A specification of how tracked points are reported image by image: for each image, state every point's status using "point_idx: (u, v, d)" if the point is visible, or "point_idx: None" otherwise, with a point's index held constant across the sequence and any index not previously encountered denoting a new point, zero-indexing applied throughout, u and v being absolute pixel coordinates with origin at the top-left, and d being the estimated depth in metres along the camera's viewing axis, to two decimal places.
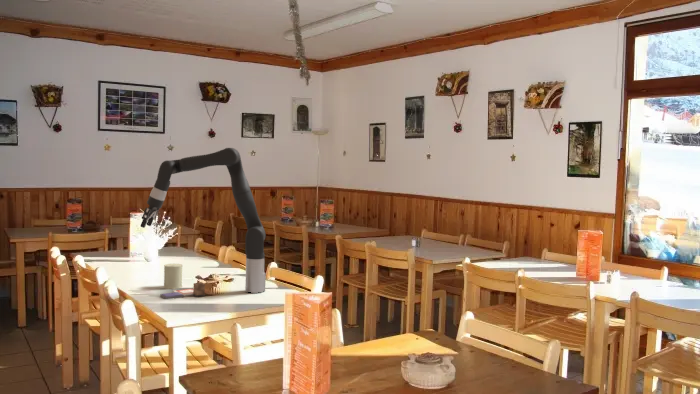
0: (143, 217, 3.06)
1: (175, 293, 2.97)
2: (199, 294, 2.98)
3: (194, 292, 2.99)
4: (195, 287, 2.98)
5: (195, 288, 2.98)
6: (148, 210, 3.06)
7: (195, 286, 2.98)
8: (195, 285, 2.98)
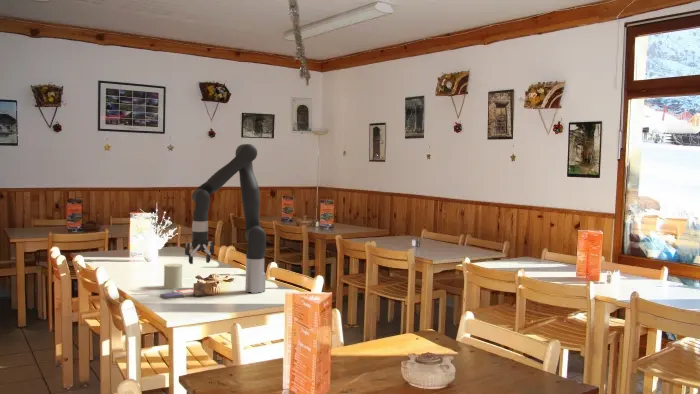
0: (185, 253, 2.95)
1: (175, 293, 2.97)
2: (199, 294, 2.98)
3: (194, 292, 2.99)
4: (195, 287, 2.98)
5: (195, 288, 2.98)
6: (187, 244, 2.94)
7: (195, 286, 2.98)
8: (195, 285, 2.98)
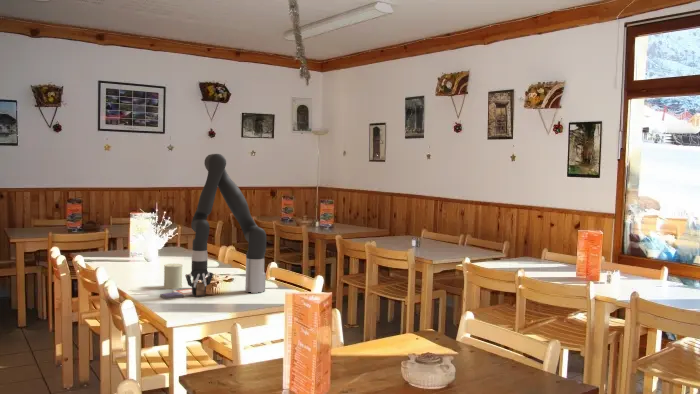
0: (189, 284, 2.97)
1: (175, 293, 2.97)
2: (199, 294, 2.98)
3: None
4: None
5: None
6: (187, 277, 2.95)
7: None
8: None
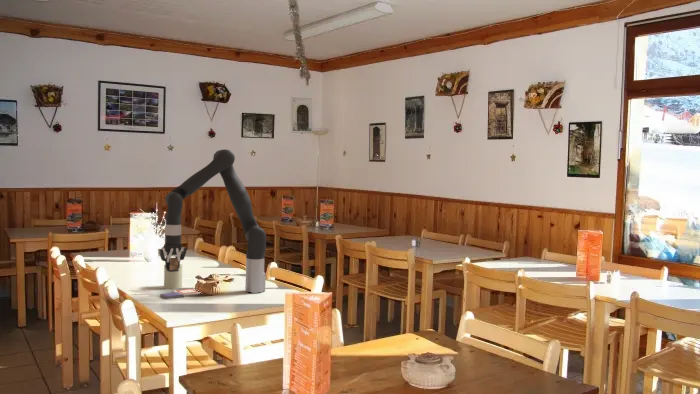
0: None
1: (175, 293, 2.97)
2: (172, 269, 2.93)
3: None
4: (169, 262, 2.93)
5: None
6: (160, 251, 2.90)
7: None
8: None
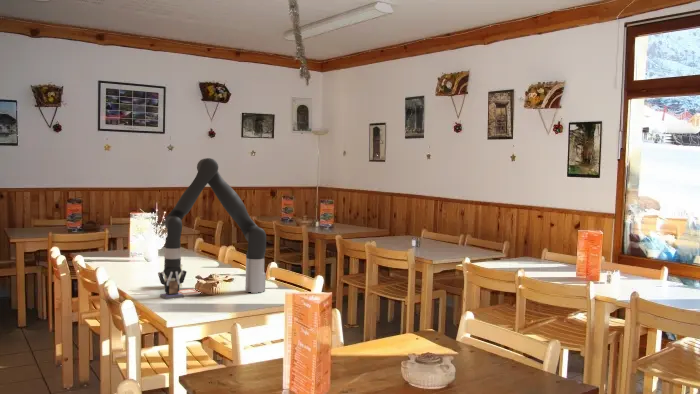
0: (161, 282, 2.92)
1: None
2: (172, 292, 2.93)
3: None
4: (168, 285, 2.93)
5: None
6: (159, 275, 2.90)
7: None
8: None
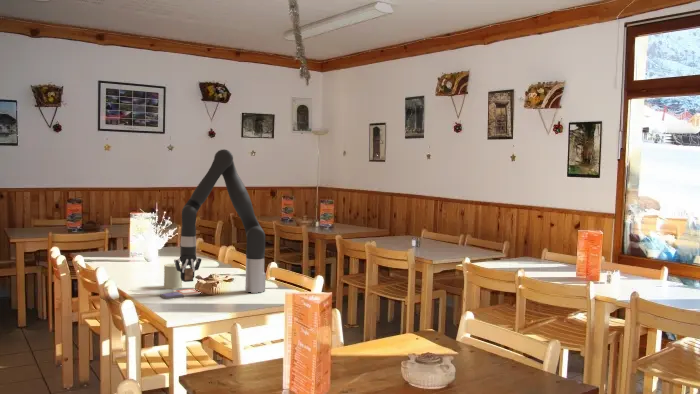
0: (177, 269, 3.02)
1: (175, 293, 2.97)
2: (187, 279, 3.03)
3: None
4: (184, 272, 3.03)
5: None
6: (175, 262, 3.00)
7: None
8: None
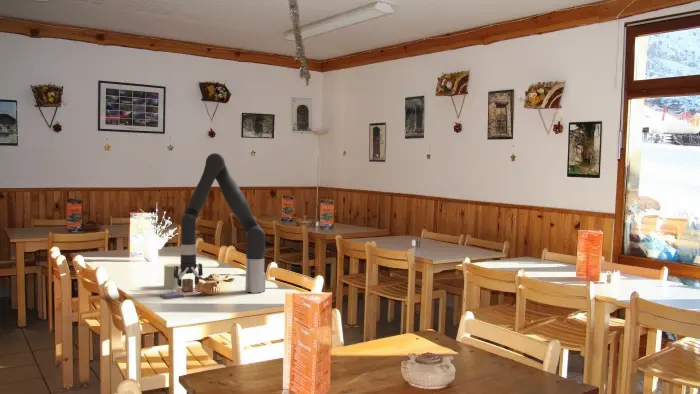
0: (174, 275, 3.01)
1: (175, 293, 2.97)
2: (187, 289, 3.04)
3: (183, 288, 3.05)
4: (184, 283, 3.04)
5: (183, 284, 3.04)
6: (175, 267, 3.00)
7: (184, 282, 3.04)
8: (183, 281, 3.04)
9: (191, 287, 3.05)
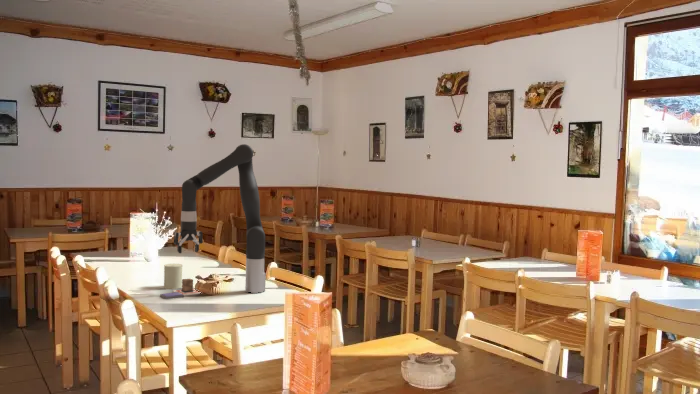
0: (174, 242, 3.00)
1: (175, 293, 2.97)
2: (187, 289, 3.04)
3: (183, 288, 3.05)
4: (184, 283, 3.04)
5: (183, 284, 3.04)
6: (175, 234, 2.99)
7: (184, 282, 3.04)
8: (183, 281, 3.04)
9: (191, 287, 3.05)
